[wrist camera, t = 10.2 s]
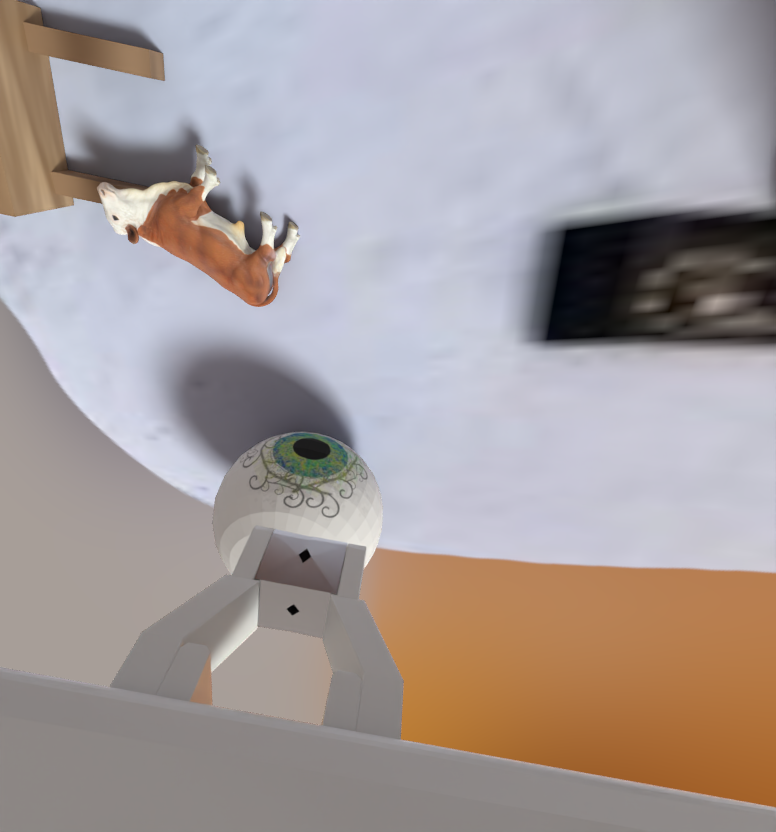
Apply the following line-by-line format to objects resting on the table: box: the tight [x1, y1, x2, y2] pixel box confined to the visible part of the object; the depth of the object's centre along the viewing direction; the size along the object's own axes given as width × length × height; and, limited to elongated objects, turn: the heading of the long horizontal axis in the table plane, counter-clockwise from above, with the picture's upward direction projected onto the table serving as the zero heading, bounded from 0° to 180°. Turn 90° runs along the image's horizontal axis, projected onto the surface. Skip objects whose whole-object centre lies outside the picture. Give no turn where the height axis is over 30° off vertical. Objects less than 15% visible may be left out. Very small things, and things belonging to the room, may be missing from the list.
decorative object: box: [212, 432, 383, 574], centre depth 42 cm, size 15×15×15 cm
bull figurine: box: [97, 145, 300, 307], centre depth 34 cm, size 4×13×8 cm
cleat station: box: [0, 0, 165, 217], centre depth 31 cm, size 10×12×6 cm
